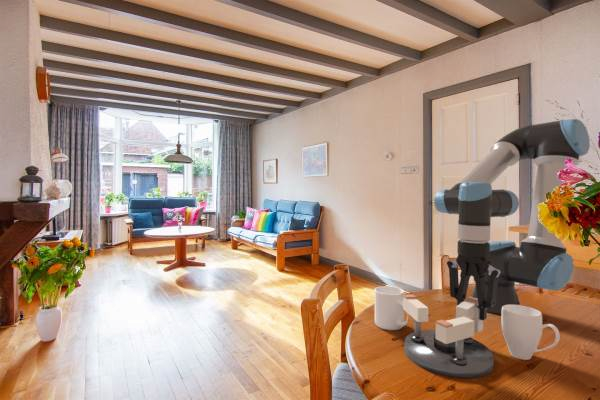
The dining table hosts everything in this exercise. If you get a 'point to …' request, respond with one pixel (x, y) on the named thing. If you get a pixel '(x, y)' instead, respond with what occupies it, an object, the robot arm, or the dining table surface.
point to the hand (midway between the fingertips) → (471, 327)
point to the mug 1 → (389, 308)
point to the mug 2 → (524, 330)
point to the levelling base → (449, 356)
